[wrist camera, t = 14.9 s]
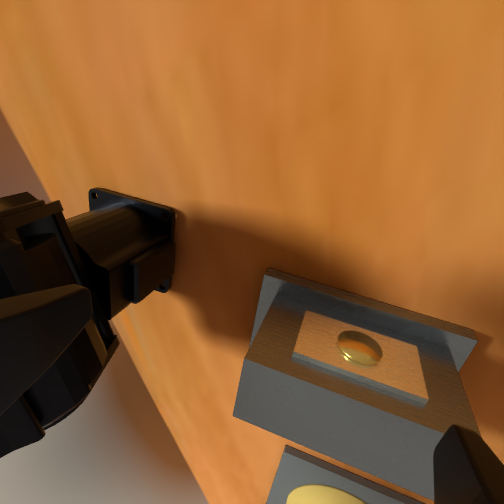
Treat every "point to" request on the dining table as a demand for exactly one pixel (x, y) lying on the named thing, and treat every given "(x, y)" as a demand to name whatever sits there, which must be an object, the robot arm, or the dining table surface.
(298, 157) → the dining table surface
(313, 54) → the dining table surface
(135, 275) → the robot arm
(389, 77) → the dining table surface
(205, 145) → the dining table surface
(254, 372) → the lamp housing
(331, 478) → the parts mat
